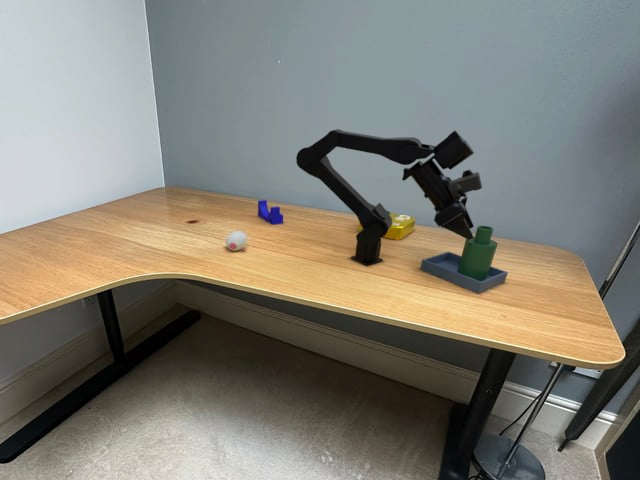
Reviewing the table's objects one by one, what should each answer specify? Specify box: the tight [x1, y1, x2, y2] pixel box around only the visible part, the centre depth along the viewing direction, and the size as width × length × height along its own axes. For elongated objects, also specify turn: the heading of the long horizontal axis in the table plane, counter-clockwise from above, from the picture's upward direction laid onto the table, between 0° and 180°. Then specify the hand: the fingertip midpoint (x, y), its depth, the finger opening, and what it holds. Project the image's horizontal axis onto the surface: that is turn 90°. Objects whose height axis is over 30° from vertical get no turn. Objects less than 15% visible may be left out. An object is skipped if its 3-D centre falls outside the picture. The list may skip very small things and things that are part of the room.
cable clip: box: [257, 199, 284, 226], centre depth 139 cm, size 12×4×6 cm, turn 25°
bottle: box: [457, 225, 498, 282], centre depth 92 cm, size 7×7×13 cm
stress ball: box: [225, 230, 248, 253], centre depth 113 cm, size 8×8×7 cm
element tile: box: [358, 212, 416, 241], centre depth 128 cm, size 15×15×5 cm
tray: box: [419, 251, 509, 294], centre depth 96 cm, size 11×16×3 cm
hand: (471, 233), depth 91 cm, fingers open, 9 cm apart
